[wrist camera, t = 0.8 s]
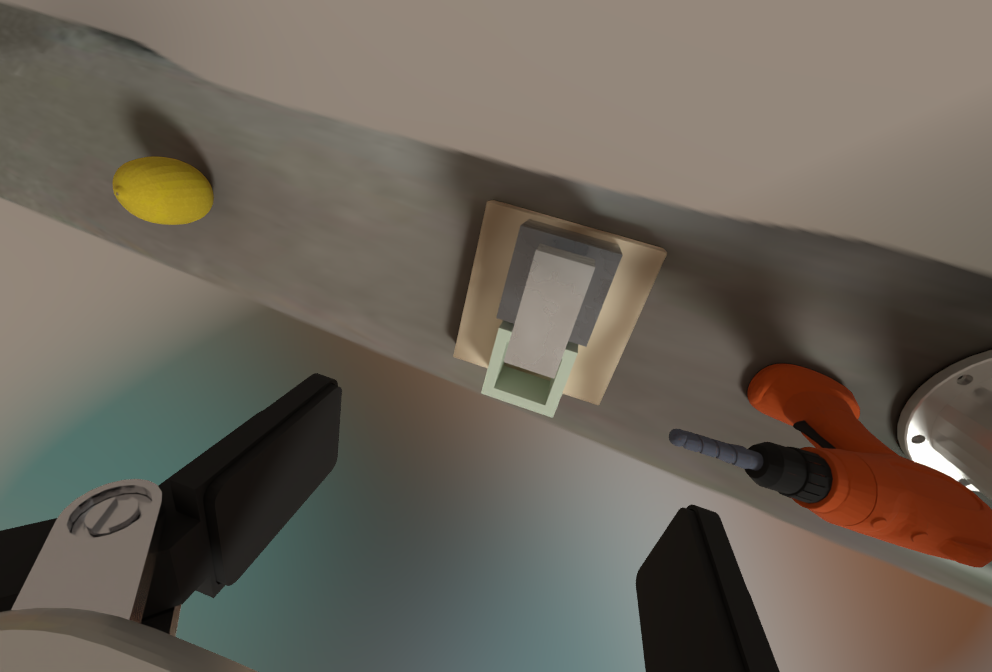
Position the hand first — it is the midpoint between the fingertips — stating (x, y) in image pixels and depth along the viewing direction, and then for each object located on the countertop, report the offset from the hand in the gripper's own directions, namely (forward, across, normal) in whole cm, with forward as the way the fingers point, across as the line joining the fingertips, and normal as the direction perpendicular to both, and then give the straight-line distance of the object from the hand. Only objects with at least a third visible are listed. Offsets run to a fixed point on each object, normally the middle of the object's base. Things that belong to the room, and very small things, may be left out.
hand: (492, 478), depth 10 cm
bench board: (+24, 0, +3) cm, 25 cm away
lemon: (+25, +34, +2) cm, 42 cm away
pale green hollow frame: (+22, 0, +7) cm, 23 cm away
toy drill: (+24, -18, +4) cm, 30 cm away
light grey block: (+22, 0, 0) cm, 22 cm away
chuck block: (+22, 0, 0) cm, 22 cm away
